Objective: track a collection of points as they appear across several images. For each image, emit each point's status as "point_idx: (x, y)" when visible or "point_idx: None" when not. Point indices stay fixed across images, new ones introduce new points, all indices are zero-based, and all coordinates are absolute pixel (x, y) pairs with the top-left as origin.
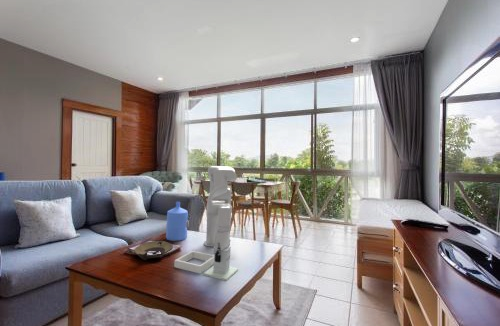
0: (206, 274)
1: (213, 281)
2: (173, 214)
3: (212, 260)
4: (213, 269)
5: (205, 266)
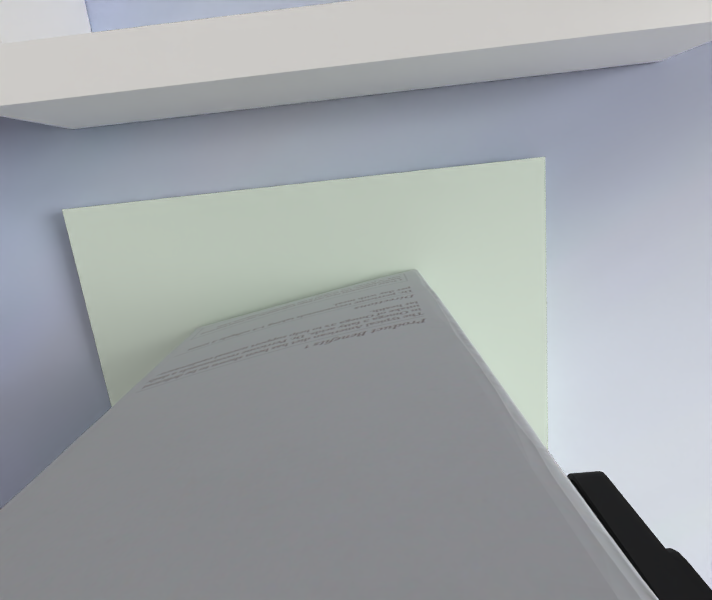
0: (84, 265)
1: (33, 454)
2: None
3: (527, 56)
4: (181, 345)
5: (215, 99)
